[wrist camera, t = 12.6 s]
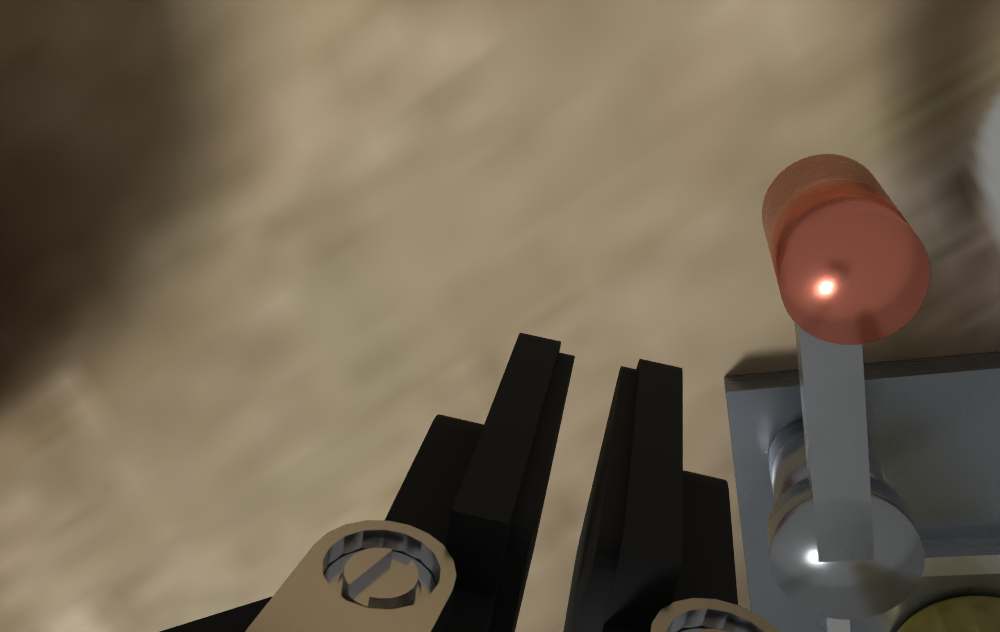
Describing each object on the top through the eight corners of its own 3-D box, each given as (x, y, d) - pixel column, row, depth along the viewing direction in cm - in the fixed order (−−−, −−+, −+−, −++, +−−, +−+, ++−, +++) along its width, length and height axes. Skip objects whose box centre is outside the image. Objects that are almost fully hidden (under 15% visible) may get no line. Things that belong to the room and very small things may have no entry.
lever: (915, 585, 30) (973, 750, 24) (772, 590, 31) (793, 750, 25) (898, 129, 25) (966, 197, 19) (726, 153, 26) (739, 226, 20)
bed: (1131, 747, 37) (1197, 871, 33) (767, 748, 41) (778, 860, 36) (1159, 337, 31) (1246, 415, 26) (724, 376, 34) (730, 452, 29)
